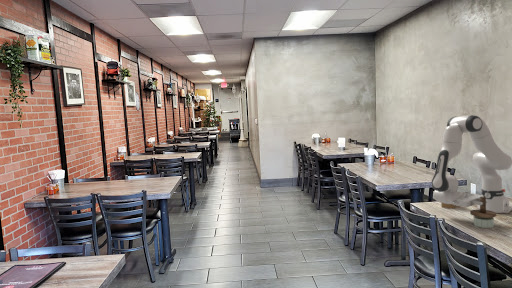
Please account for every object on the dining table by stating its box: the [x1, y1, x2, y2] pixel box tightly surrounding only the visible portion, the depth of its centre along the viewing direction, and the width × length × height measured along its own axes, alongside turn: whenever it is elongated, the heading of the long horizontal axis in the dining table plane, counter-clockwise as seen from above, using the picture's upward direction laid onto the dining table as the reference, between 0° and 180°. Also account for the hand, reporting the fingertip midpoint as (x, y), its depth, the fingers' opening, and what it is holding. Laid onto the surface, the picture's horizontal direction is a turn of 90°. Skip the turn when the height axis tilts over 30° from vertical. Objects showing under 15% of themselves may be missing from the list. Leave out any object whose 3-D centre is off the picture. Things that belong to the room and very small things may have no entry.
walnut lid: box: [469, 197, 497, 218], centre depth 208 cm, size 13×13×10 cm
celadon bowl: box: [472, 215, 495, 229], centre depth 208 cm, size 10×10×4 cm
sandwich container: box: [440, 202, 456, 209], centre depth 255 cm, size 9×15×15 cm, turn 152°
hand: (484, 202), depth 207 cm, fingers closed on walnut lid, 3 cm apart
